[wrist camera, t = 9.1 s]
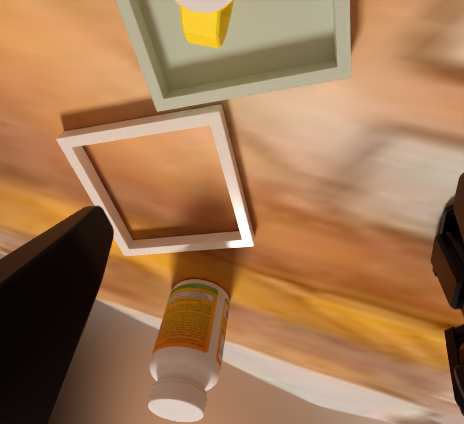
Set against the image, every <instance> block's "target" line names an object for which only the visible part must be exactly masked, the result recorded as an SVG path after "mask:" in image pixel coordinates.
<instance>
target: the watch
mask: <svg viewBox="0 0 464 424" xmlns="http://www.w3.org/2000/svg"><path fill="white" fill-rule="evenodd" d="M174 1H175V2H176V3H178V4H179V5H180V15H181V26H182V30H183V32H184V35H185V37H186V39H187V41H188V42H189V43H193V44H198V45H203V46H208V47H213V48H218V49H219V48H220V47H221V46H222V44H223V43H224V41H225V38H226V34H227V30H228V27H229V23H230V18H231V13H232V8H233V3H234V0H174Z"/></svg>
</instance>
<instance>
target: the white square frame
mask: <svg viewBox="0 0 464 424" xmlns="http://www.w3.org/2000/svg"><path fill="white" fill-rule="evenodd" d="M208 125H210V126H211V130H212V133H213V137H214V140H215V144H216V148H217V151H218V155H219V158H220V162H221V165H222V169H223V173H224V176H225V180H226V183H227V187H228V190H229V194H230V198H231V201H232V205H233V208H234V212H235V215H236V219H237V223H238V226H239V230H240V231H233V232H221V233H210V234H199V235H187V236H176V237H165V238H153V239H142V240H133V239H132V237H131V235H130V234H129V232H128V230H127V228H126V226H125V224H124V222H123V221H122V219H121V217H120V215H119V213H118V211H117V210H116V208H115V206H114V204H113V202H112V200H111V198H110V197H109V195H108V193H107V191H106V189H105V187H104V186H103V184H102V182H101V180H100V178H99V176H98V175H97V173H96V171H95V169H94V167H93V165H92V163H91V162H90V160H89V158H88V156H87V154H86V152H85V151H84V149H83V147H82V146H84V145H90V144H96V143H102V142H108V141H115V140H121V139H127V138H133V137H139V136H146V135H152V134H158V133H164V132H170V131H177V130H183V129H189V128H195V127H201V126H208ZM56 140H57V142H58V144H59V145H60V147H61V149H62V150H63V152H64V154H65V155H66V157H67V159H68V161H69V162H70V164H71V166H72V167H73V169H74V171H75V173H76V174H77V176H78V178H79V179H80V181H81V183H82V185H83V186H84V188H85V190H86V191H87V193H88V195H89V196H90V198H91V200H92V202H93V203H94V205H95V206H100V207H102V208H103V210H104V211H105V213H106V215H107V217H108V219H109V221H110V223H111V225H112V226H113V230H114V239H115V241H116V243H117V244H118V246H119V248H120V249H121V251H122V253H123V255H124V256H133V255H146V254H159V253H172V252H185V251H198V250H210V249H223V248H236V247H249V246H254V238H255V236H254V232H253V228H252V224H251V220H250V216H249V212H248V208H247V204H246V200H245V196H244V192H243V188H242V184H241V180H240V176H239V172H238V168H237V164H236V160H235V156H234V152H233V147H232V143H231V139H230V135H229V131H228V127H227V123H226V119H225V115H224V111H223V107H222V104H219V105H213V106H207V107H202V108H196V109H190V110H184V111H179V112H173V113H167V114H161V115H156V116H150V117H144V118H138V119H133V120H127V121H121V122H115V123H110V124H104V125H98V126H92V127H86V128H81V129H75V130H69V131H64V132H63V133H62V134H61V135H60V136H58V137H57V138H56Z"/></svg>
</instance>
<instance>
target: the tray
mask: <svg viewBox="0 0 464 424" xmlns="http://www.w3.org/2000/svg"><path fill="white" fill-rule="evenodd" d="M116 2H117V5H118V8H119V11H120V13H121V16H122V19H123V21H124V24H125V27H126V29H127V32H128V35H129V38H130V40H131V43H132V46H133V48H134V51H135V54H136V56H137V59H138V62H139V65H140V67H141V70H142V73H143V75H144V78H145V81H146V83H147V86H148V89H149V92H150V94H151V97H152V100H153V102H154V105H155V108H156V110H157V112H158V111H164V110H170V109H175V108H181V107H187V106H193V105H198V104H204V103H210V102H215V101H221V100H227V99H232V98H238V97H244V96H249V95H255V94H261V93H266V92H272V91H278V90H283V89H289V88H295V87H300V86H306V85H312V84H317V83H323V82H329V81H334V80H340V79H346V78H351V43H350V0H234V3H233V8H232V13H231V18H230V23H229V27H228V30H227V34H226V38H225V41H224V43H223V44H222V46H221V47H220V48H219V49H218V48H213V47H208V46H203V45H198V44H193V43H189V42H188V41H187V39H186V37H185V35H184V32H183V30H182V26H181V15H180V5H179V4H178V3H176V2H175V1H174V0H116Z"/></svg>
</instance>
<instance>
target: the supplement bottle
mask: <svg viewBox="0 0 464 424" xmlns="http://www.w3.org/2000/svg"><path fill="white" fill-rule="evenodd" d="M228 313H229V297H228V295H227V293H226V292H225V291H224V290H223V289H222V288H221V287H219V286H218V285H216V284H214V283H212V282H209V281H205V280H200V279H189V280H185V281H182V282H180V283H178V284H177V285H175V286H174V288H173V289H172V291H171V293H170V296H169V299H168V303H167V306H166V310H165V313H164V317H163V320H162V323H161V327H160V330H159V333H158V337H157V340H156V343H155V347H154V350H153V353H152V356H151V361H150V372H151V374H152V376H153V378H154V379H155V380H156V382H155V383H154V384H153V388H152V390H151V394H150V397H149V402H148V407H149V409H150V410H151V411H152V412H153V413H154V414H156V415H158V416H160V417H162V418H165V419H169V420H173V421H179V422H193V421H197V420H200V419H201V418H202V417H203V416H204V412H205V407H206V402H207V393H206V391H207V390H209V389H210V388H212V387H213V386H214V385H215V384H216V383H217V381H218V378H219V375H220V370H221V362H222V355H223V348H224V342H225V334H226V327H227V320H228Z"/></svg>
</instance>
